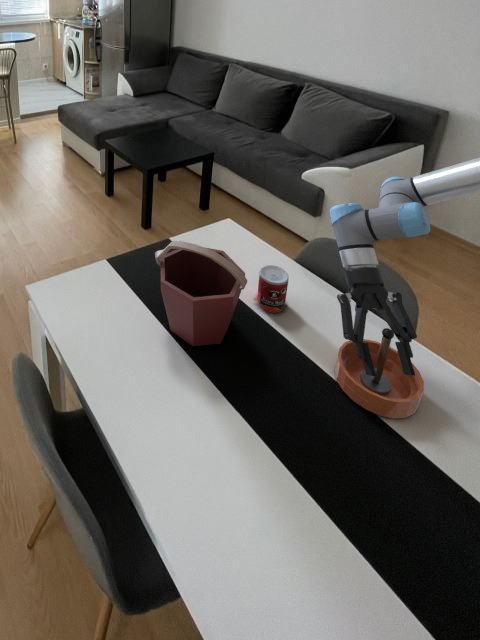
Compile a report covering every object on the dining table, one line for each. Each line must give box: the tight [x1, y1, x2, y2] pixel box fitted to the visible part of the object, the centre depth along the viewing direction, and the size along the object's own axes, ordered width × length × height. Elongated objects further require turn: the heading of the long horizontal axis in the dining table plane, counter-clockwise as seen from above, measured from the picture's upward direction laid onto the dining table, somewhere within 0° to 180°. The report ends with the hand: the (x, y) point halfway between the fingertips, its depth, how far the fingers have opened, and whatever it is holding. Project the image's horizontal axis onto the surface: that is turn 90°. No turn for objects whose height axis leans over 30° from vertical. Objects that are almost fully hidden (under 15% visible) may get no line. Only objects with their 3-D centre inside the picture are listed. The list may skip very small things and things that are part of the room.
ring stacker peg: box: [360, 327, 395, 396], centre depth 97 cm, size 6×6×17 cm
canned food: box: [256, 264, 290, 314], centre depth 125 cm, size 8×8×11 cm
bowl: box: [334, 338, 425, 419], centre depth 100 cm, size 16×16×6 cm
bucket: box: [154, 240, 248, 347], centre depth 118 cm, size 24×22×25 cm
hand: (390, 374), depth 95 cm, fingers open, 8 cm apart
